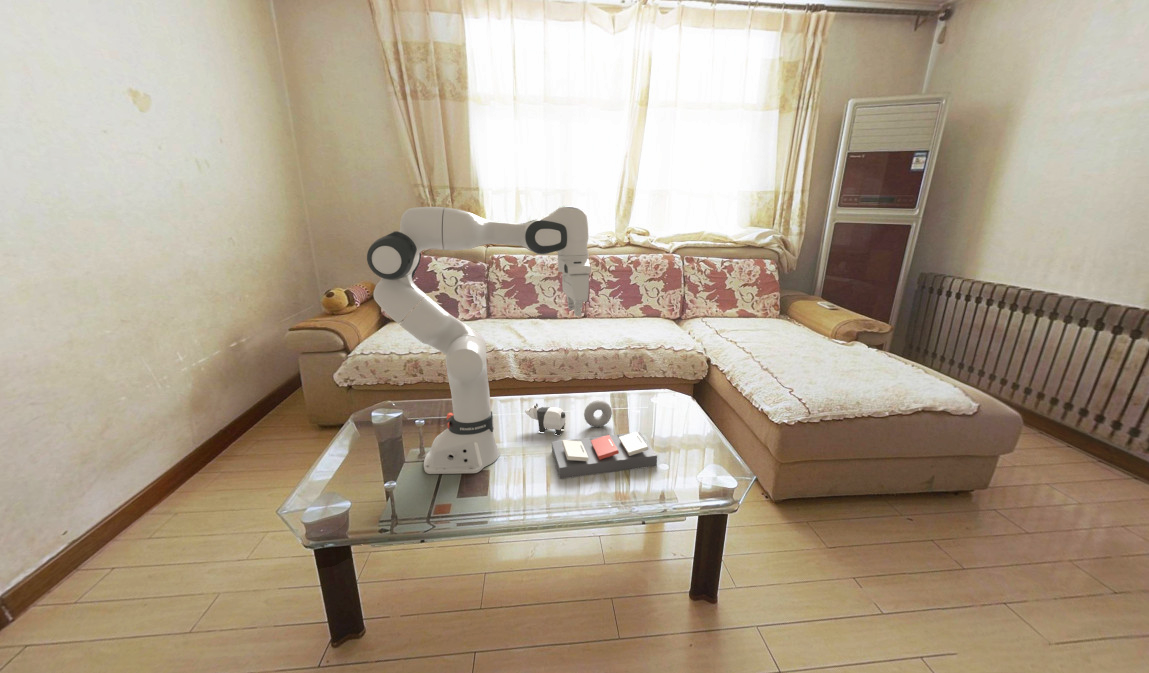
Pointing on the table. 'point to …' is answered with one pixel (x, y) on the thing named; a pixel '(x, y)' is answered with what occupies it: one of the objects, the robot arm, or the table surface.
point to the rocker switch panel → (603, 465)
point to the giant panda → (548, 417)
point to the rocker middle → (604, 447)
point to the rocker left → (574, 450)
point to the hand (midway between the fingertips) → (574, 312)
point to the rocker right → (633, 443)
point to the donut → (603, 418)
